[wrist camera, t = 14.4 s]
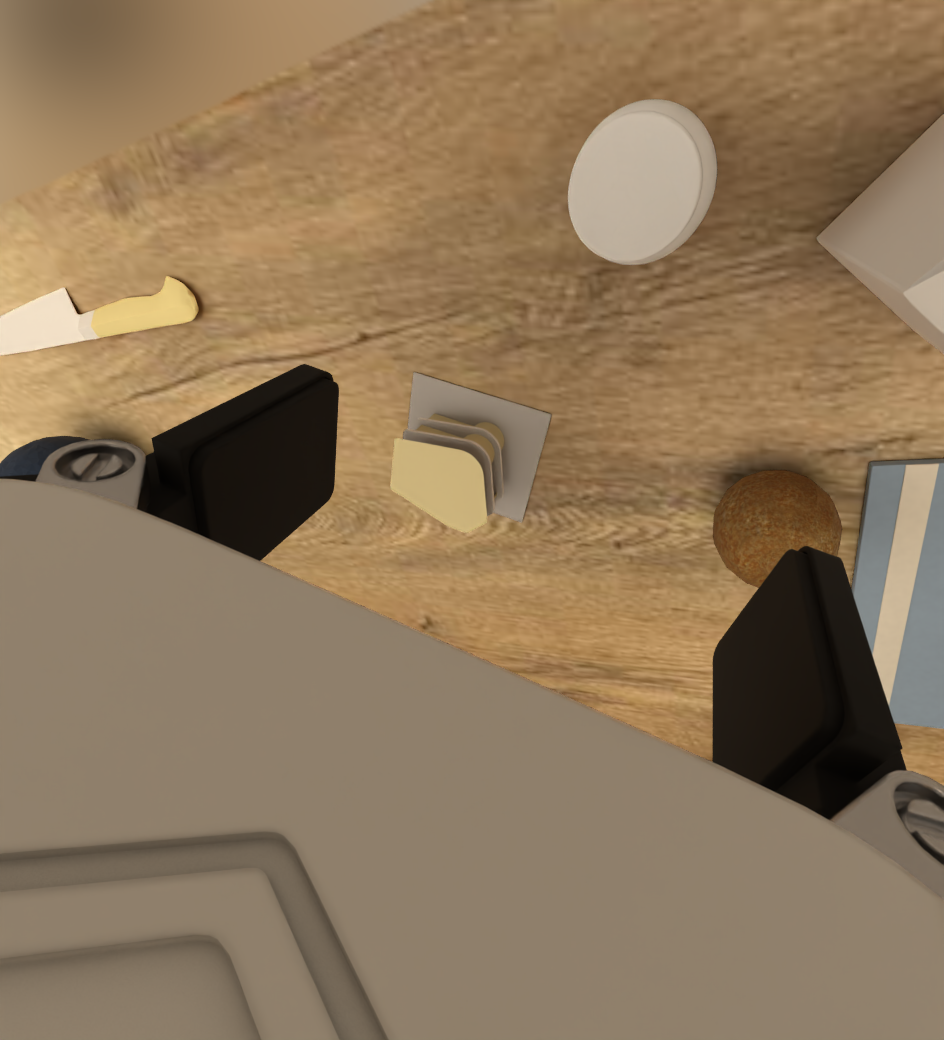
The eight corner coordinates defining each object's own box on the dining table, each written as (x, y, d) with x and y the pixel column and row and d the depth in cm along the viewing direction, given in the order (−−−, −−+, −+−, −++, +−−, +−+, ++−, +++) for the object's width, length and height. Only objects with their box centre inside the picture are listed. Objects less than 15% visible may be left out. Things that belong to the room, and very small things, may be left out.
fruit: (691, 482, 34) (687, 552, 28) (790, 427, 31) (811, 494, 24) (747, 552, 35) (755, 634, 29) (849, 507, 32) (884, 590, 25)
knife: (-63, 320, 51) (-43, 368, 53) (175, 253, 38) (193, 319, 40) (-47, 320, 53) (-27, 367, 54) (190, 254, 39) (207, 319, 41)
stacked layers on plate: (402, 480, 42) (367, 515, 38) (413, 371, 37) (375, 398, 33) (522, 522, 40) (499, 564, 36) (551, 414, 35) (529, 448, 31)
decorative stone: (100, 506, 59) (6, 558, 51) (63, 404, 52) (-52, 446, 44) (186, 536, 56) (101, 595, 48) (159, 432, 49) (55, 482, 42)
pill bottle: (573, 181, 28) (521, 186, 20) (669, 80, 25) (652, 39, 17) (638, 271, 29) (613, 308, 21) (739, 186, 26) (753, 192, 18)
